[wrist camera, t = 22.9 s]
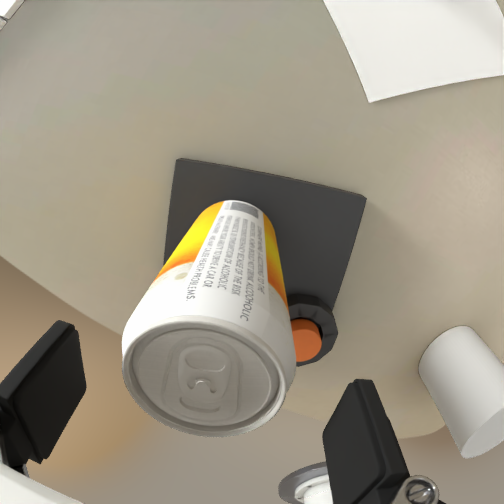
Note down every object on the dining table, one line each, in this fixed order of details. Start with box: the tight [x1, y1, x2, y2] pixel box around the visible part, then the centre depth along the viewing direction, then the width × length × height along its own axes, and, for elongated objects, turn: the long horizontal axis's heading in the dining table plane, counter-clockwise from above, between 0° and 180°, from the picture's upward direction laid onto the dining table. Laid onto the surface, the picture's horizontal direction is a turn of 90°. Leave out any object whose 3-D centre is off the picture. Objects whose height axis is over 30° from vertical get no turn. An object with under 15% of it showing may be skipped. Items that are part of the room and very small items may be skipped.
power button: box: [290, 319, 322, 362], centre depth 24 cm, size 3×3×2 cm
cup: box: [418, 326, 504, 458], centre depth 23 cm, size 8×8×12 cm
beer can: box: [122, 200, 296, 437], centre depth 16 cm, size 6×6×15 cm
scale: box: [163, 158, 367, 367], centre depth 24 cm, size 15×15×3 cm
